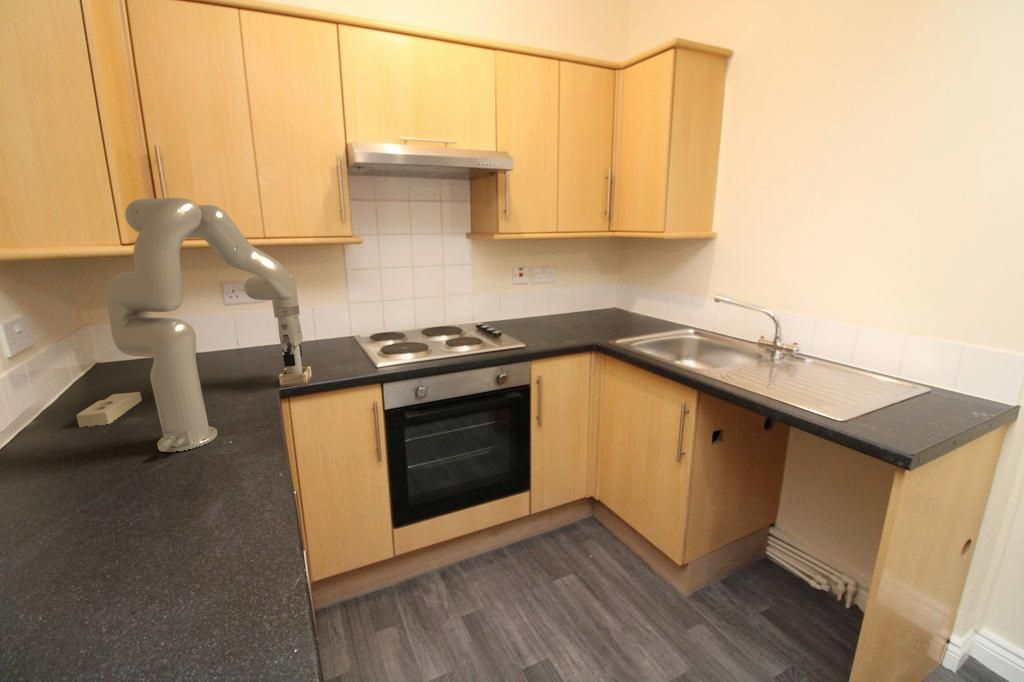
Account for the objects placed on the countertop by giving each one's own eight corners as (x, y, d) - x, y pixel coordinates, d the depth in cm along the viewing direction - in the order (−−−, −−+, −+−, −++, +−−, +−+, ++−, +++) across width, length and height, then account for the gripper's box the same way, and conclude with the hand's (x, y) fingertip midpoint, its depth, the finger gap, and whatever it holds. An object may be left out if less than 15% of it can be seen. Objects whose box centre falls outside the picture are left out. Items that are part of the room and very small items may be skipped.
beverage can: (284, 381, 161) (279, 346, 157) (295, 376, 165) (291, 342, 162) (295, 382, 159) (291, 347, 156) (306, 378, 163) (302, 344, 160)
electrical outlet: (139, 389, 148) (106, 412, 131) (142, 401, 149) (109, 425, 132) (112, 391, 146) (75, 414, 130) (115, 403, 148) (79, 428, 131)
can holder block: (307, 385, 159) (305, 373, 158) (280, 387, 158) (278, 375, 157) (312, 377, 167) (310, 366, 166) (286, 379, 166) (285, 368, 165)
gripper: (292, 316, 149) (299, 368, 153) (304, 305, 165) (310, 353, 169) (266, 317, 147) (274, 370, 152) (281, 306, 164) (288, 355, 168)
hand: (293, 361), depth 161 cm, fingers open, 9 cm apart
